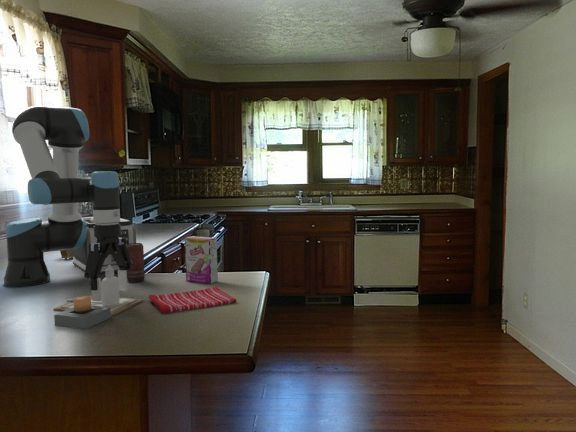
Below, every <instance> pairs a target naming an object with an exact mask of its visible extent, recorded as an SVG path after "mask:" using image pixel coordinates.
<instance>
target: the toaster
mask: <svg viewBox="0 0 576 432" xmlns="http://www.w3.org/2000/svg"><path fill="white" fill-rule="evenodd" d="M82 219H84V220H85V221H86V225H87V227H86V229H87V236H86V240H85V243H84V245H83V246H82V247H81V248H77V249H72V255H73V256H74V257H73V259H72V264H74V265H73V266H74V267H76V266H77V267H76V268H77V269H78V270H80V269H81V271H82V272H83V271H84V272H83V273H85V269H86V264H87V259H88V254H89V244H96V243H97V238H96V237H95V236H94V225H95V224H96V223H94V222H93V216H85V217H82ZM118 223H119V224H120V225H121V235H120V236H118V238H125V239H126V246H127V244H130V243H137V228H136V227H135V226H134V225H133V224H132V221H131V220H129V219H126V218H121V217H120V222H118ZM100 254H101V253H100ZM108 265H111V268H112V269H114V274H118V270H121V269H120V268H119V267H118V265H117V263H116V261H115V260H114V258H113V256H112V255H111V254H110V255H108V257H107V258H106V259H105V261H104V264H103V267H102V269H101V272H100V275H99V276H101V275H102V274H103V275H106V274H105V270H106V269H107V268H108ZM89 274H90V273H89ZM94 275H95V274H94ZM103 275H102V276H103Z"/></svg>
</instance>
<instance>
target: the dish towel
mask: <svg viewBox="0 0 576 432" xmlns="http://www.w3.org/2000/svg"><path fill="white" fill-rule="evenodd" d="M147 297H148V299H149V300H150V302H151V303H152V304H153V305H154V307H155V308H156V309H157V310H158V312H159V313H160V314H163V315H164V313H165V314H170V313H177V312H179V313H180V312H185V311H191V310H192V309H193V310H198V308H199V309H206V307H207V308H213V307H212V306H214V307H219V306H218V305H220V306H225V305H224V304H226V305H231V304H235V303H236V302H237V299H236V298H234V297H232V296H231V295H230V294H228V293H226V292H225V291H224V290H223V291H222V289H220V288H219V287H218V286H211V287H207V288H203V289H196V290H195V289H194V290H191V291H179V292H171V293H168V294H166V293H165V294H148V296H147Z"/></svg>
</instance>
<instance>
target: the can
mask: <svg viewBox="0 0 576 432" xmlns="http://www.w3.org/2000/svg"><path fill="white" fill-rule="evenodd" d="M127 250H128V253H129V257H130V260H131V263H132V265H131V266H130V270H127V283H131V284H133V283H134V284H136V283H142V282H144V281H145V279H146V278H145V257H144V245H143V243H141V242H136V243H130V244H127Z"/></svg>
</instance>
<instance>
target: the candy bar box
mask: <svg viewBox="0 0 576 432" xmlns="http://www.w3.org/2000/svg"><path fill="white" fill-rule="evenodd" d="M184 246H185V248H184V249H185V252H184V253H185V280H186V282H190V283H191V282H192V283H198V284H199V283H200V284H207V285H213V284H214V283H217V282H219V280H218V279H219V277H218V276H219V275H218V274H219V273H218V271H219V269H218V238H217V237H208V236H207V237H206V236H197V235H191V236H186V237H185V238H184Z"/></svg>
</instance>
